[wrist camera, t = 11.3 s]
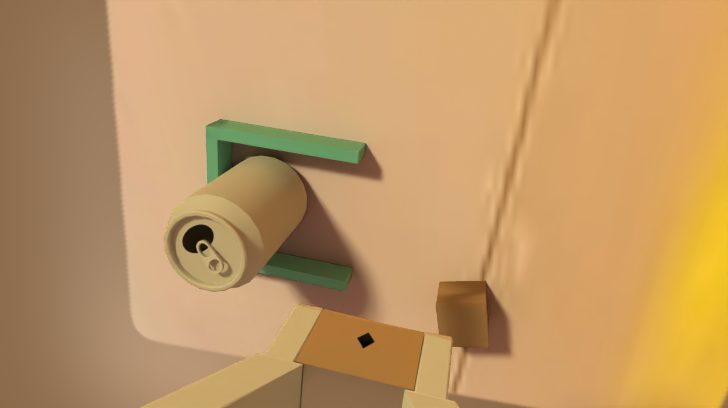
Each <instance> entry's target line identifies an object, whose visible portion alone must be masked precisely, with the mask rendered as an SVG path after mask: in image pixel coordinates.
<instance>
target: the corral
mask: <svg viewBox="0 0 728 408" xmlns="http://www.w3.org/2000/svg"><path fill="white" fill-rule="evenodd" d="M231 142H234V143H240V144H246V145H252V146H257V147H263V148H269V149H275V150H281V151H286V152H292V153H298V154H304V155H309V156H315V157H321V158H327V159H333V160H338V161H344V162H350V163H356V164H358V163H359V161H360V160H361V159H362V157H363V156H364V154H365V145H366V143H361V142H354V141H348V140H342V139H336V138H330V137H324V136H318V135H312V134H306V133H300V132H294V131H288V130H282V129H276V128H270V127H264V126H258V125H252V124H246V123H240V122H234V121H228V120H222V119H220V120H218V121H216V122H214V123H211V124H209V125H207V126H206V149H207V184H209V183H210V182H212V181H213V180H215V179H216V178H218V177H219V176H221V175H222V174H224V173H225V172H227V171H228V170H230V169H231ZM259 273H262V274H266V275H271V276H275V277H280V278H285V279H289V280H294V281H299V282H303V283H308V284H312V285H317V286H322V287H326V288H331V289H335V290H340V291H345V289H346V287H347V285H348V283H349V281H350V279H351V275H352V268H350V267H345V266H340V265H336V264H331V263H326V262H321V261H316V260H312V259H307V258H302V257H297V256H292V255H288V254H283V253H278V252H275V253H274V255H273V256H272V257H271V258H270V259H269V261H268V262H267V263H266V264H265V265H264V267H263V268H262V269H261V270H260V271H259Z"/></svg>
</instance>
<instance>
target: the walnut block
mask: <svg viewBox="0 0 728 408" xmlns="http://www.w3.org/2000/svg"><path fill="white" fill-rule="evenodd" d="M436 312H437V320H438V329H439V334H440V335H445V336H450V337H451V338H452V340H453V343H452V347H489V319H488V306H487V292H486V281H456V282H440V283H439V290H438V296H437V302H436Z"/></svg>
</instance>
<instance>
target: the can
mask: <svg viewBox="0 0 728 408" xmlns="http://www.w3.org/2000/svg"><path fill="white" fill-rule="evenodd" d="M306 210H307V195H306V191H305V187H304V184H303V182H302V181H301V179H300V178H299V176H298V174H297V173H296V172H295V171H294V170H293V169H292V168H291V167H290V166H288V165H287V164H286V163H284V162H282V161H280V160H278V159H276V158H274V157H268V156H262V155H261V156H255V157H249V158H247V159H246V160H244V161H242V162H240V163H239V164H237V165H236V166H234V167H233V168H231V169H230V170H228V171H227V172H225V173H224V174H222V175H221V176H219V177H218V178H216V179H215V180H213V181H212V182H210V183H209V184H207V185H206V186H204V187H203V188H201V189H200V190H198V191H197V192H195V193H194V194H192V195H191V196H189V197H188V198H186V199H185V200H183V201H181V202H180V203H179V204H178V205H177V207H176V208H175V209H174V210H173V212H172V213H171V216H170V220H169V223H168V226H167V228H166V232H165V235H164V247H165V252H166V255H167V257H168V260H169V262H170V264H171V265H172V267H173V268H174V269H175V271H176V272H177V274H179V275H180V276H181V277H182V278H183V279H184V280H186V281H187V282H188V283H190V284H192V285H194V286H196V287H198V288H200V289H203V290H208V291H225V290H227V289H229V288H236V287H240V286H242V285H244V284H246V283H248V282H250V281H251V280H252V279H253V278H254V277H255V276H256V275H257V274H258V273H259V271H260V270H261V269H262V268H263V267H264V265H265V264H266V263H267V262H268V261H269V259H270V258H271V257H272V256H273V255H274V253H275V252H276V251H277V250H278V249H279V247H280V246H281V245H282V244H283V243H284V241H285V240H286V239H287V238H288V237H289V235H290V234H291V233H292V232H293V230H294V229H295V228H296V227H297V226H298V224H299V223H300V222H301V221H302V219H303V217H304V214H305V212H306Z"/></svg>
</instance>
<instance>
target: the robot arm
mask: <svg viewBox="0 0 728 408" xmlns="http://www.w3.org/2000/svg"><path fill="white" fill-rule="evenodd" d="M452 343H453V340H452V338H451V337H450V336H445V335H440V334H434V333H429V332H425V335H424V332H420V331H415V330H411V329H406V328H402V327H397V326H393V325H388V324H384V323H379V322H374V321H372V320H368V319H364V318H360V317H356V316H352V315H348V314H344V313H340V312H336V311H332V310H328V309H323V308H319V307H315V306H311V305H306V304H302V303H299V304H298V305H296V306H295V307H294V309H293V310H292V312H291V314H290V315H289V317H288V318H287V320H286V322H285V323H284V325H283V326H282V328H281V330H280V331H279V333H278V334H277V336H276V338H275V339H274V341H273V343H272V344H271V346H270V347H269V349H268V351H267V352H266V354H265V355H263V354H259V353H257V354H255V355H252V356H250V357H248V358H246V359H244V360H242V361H240V362H237V363H235V364H233V365H231V366H229V367H226V368H224V369H222V370H220V371H218V372H216V373H214V374H211V375H209V376H207V377H205V378H203V379H201V380H198V381H196V382H194V383H192V384H190V385H188V386H185V387H183V388H181V389H179V390H177V391H175V392H172V393H170V394H168V395H166V396H164V397H162V398H160V399H157V400H155V401H153V402H151V403H149V404H146V405H144V406H142V407H140V408H459V406H458V405H457V403H456V402H454V401H450V400H447V399H448V388H449V377H450V365H451V354H452Z"/></svg>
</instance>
